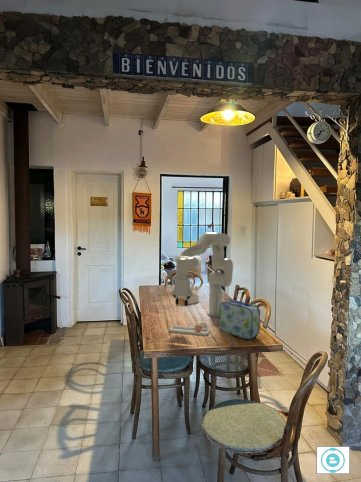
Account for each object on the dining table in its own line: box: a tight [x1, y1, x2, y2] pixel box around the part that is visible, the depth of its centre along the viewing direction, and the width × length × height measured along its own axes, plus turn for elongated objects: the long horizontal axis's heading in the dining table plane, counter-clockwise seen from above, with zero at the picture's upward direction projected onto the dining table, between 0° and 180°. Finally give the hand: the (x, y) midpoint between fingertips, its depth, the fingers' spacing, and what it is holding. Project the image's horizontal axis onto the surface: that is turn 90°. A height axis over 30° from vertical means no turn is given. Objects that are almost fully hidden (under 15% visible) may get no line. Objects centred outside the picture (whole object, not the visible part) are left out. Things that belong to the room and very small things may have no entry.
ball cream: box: [199, 320, 208, 329], centre depth 214 cm, size 5×5×5 cm
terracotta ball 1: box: [178, 298, 185, 307], centre depth 213 cm, size 5×5×5 cm
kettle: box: [174, 280, 200, 305], centre depth 285 cm, size 20×21×18 cm
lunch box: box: [218, 298, 261, 340], centre depth 205 cm, size 26×11×21 cm, turn 45°
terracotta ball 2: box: [194, 323, 202, 332], centre depth 207 cm, size 5×5×5 cm
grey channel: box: [168, 325, 211, 337], centre depth 208 cm, size 8×24×2 cm, turn 76°
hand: (181, 305), depth 213 cm, fingers closed on terracotta ball 1, 4 cm apart
